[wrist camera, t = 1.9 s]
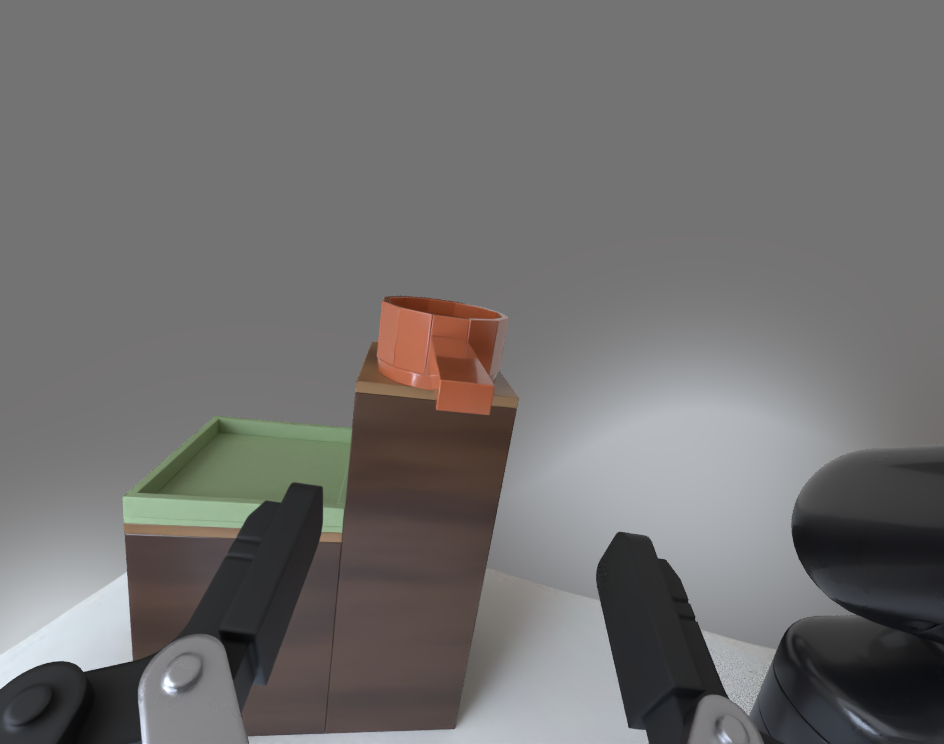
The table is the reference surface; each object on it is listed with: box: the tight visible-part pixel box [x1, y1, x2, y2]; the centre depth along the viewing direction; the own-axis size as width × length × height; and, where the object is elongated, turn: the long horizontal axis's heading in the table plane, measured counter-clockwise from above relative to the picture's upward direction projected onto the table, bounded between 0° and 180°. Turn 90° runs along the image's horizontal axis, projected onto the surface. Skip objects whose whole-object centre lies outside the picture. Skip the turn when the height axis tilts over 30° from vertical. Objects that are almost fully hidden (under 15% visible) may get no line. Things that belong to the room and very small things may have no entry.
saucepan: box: [377, 296, 509, 415], centre depth 27 cm, size 18×9×5 cm, turn 8°
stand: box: [124, 342, 519, 736], centre depth 38 cm, size 14×25×31 cm, turn 98°
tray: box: [123, 416, 352, 533], centre depth 36 cm, size 14×14×2 cm
